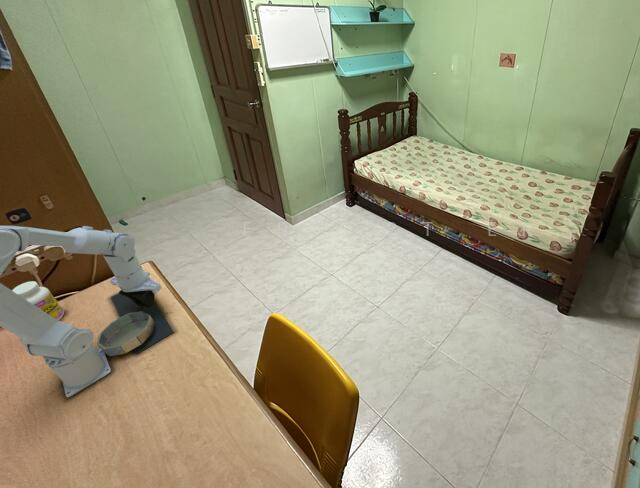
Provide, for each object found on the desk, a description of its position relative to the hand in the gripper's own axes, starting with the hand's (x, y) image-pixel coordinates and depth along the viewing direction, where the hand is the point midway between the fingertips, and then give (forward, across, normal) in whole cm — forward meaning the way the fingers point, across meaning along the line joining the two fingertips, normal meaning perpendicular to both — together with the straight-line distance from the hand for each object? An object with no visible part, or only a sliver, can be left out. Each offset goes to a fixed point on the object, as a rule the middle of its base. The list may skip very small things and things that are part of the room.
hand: (146, 304), depth 91 cm
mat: (+2, +1, +2) cm, 3 cm away
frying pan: (+2, -2, +5) cm, 6 cm away
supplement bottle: (+3, +25, +9) cm, 26 cm away
